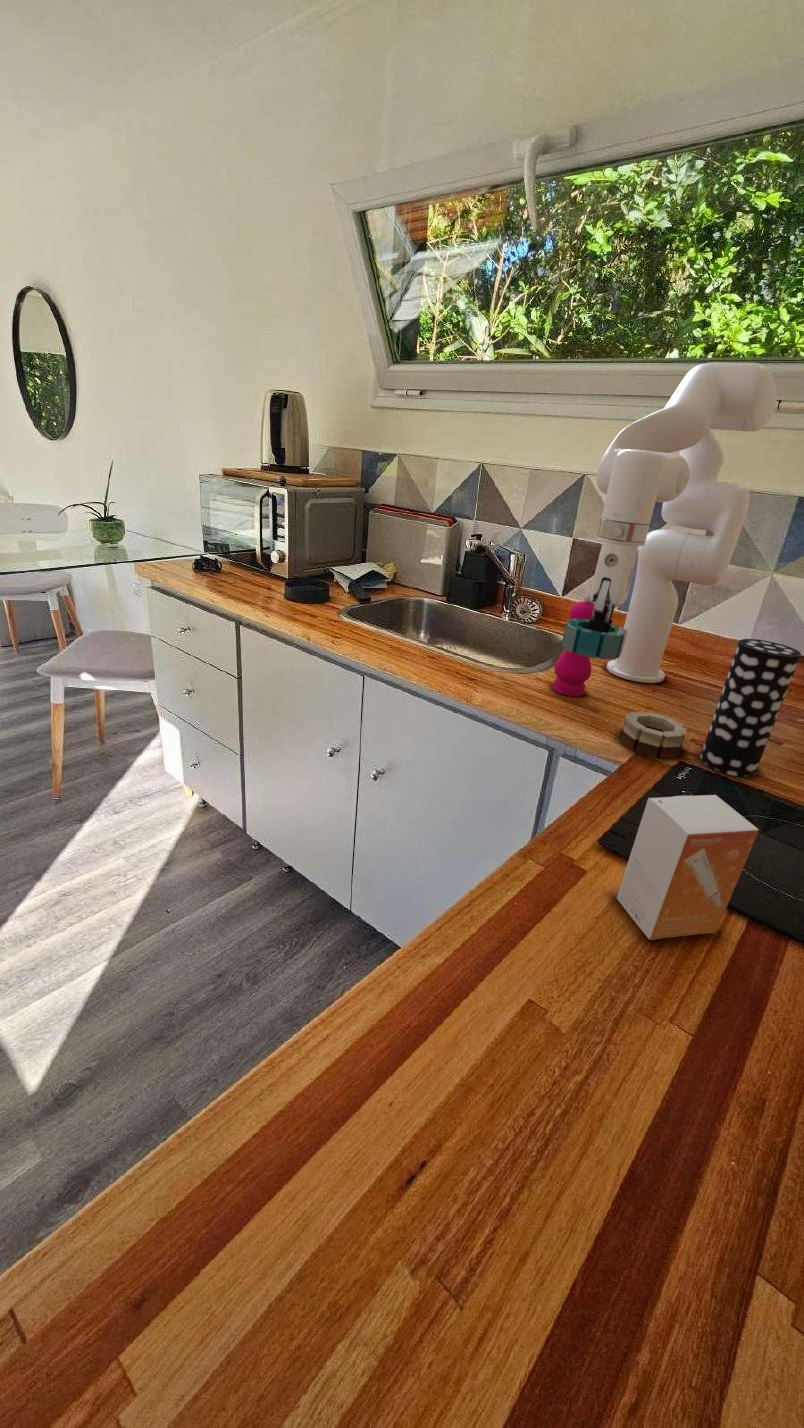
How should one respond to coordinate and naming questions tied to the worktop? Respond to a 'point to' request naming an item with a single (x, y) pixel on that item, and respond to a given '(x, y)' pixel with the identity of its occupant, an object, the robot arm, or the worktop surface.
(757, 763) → the spotted tube
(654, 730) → the ring stack
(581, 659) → the pepper mill
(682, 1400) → the worktop surface
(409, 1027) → the worktop surface
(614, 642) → the teal ring
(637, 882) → the small box
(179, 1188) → the worktop surface
